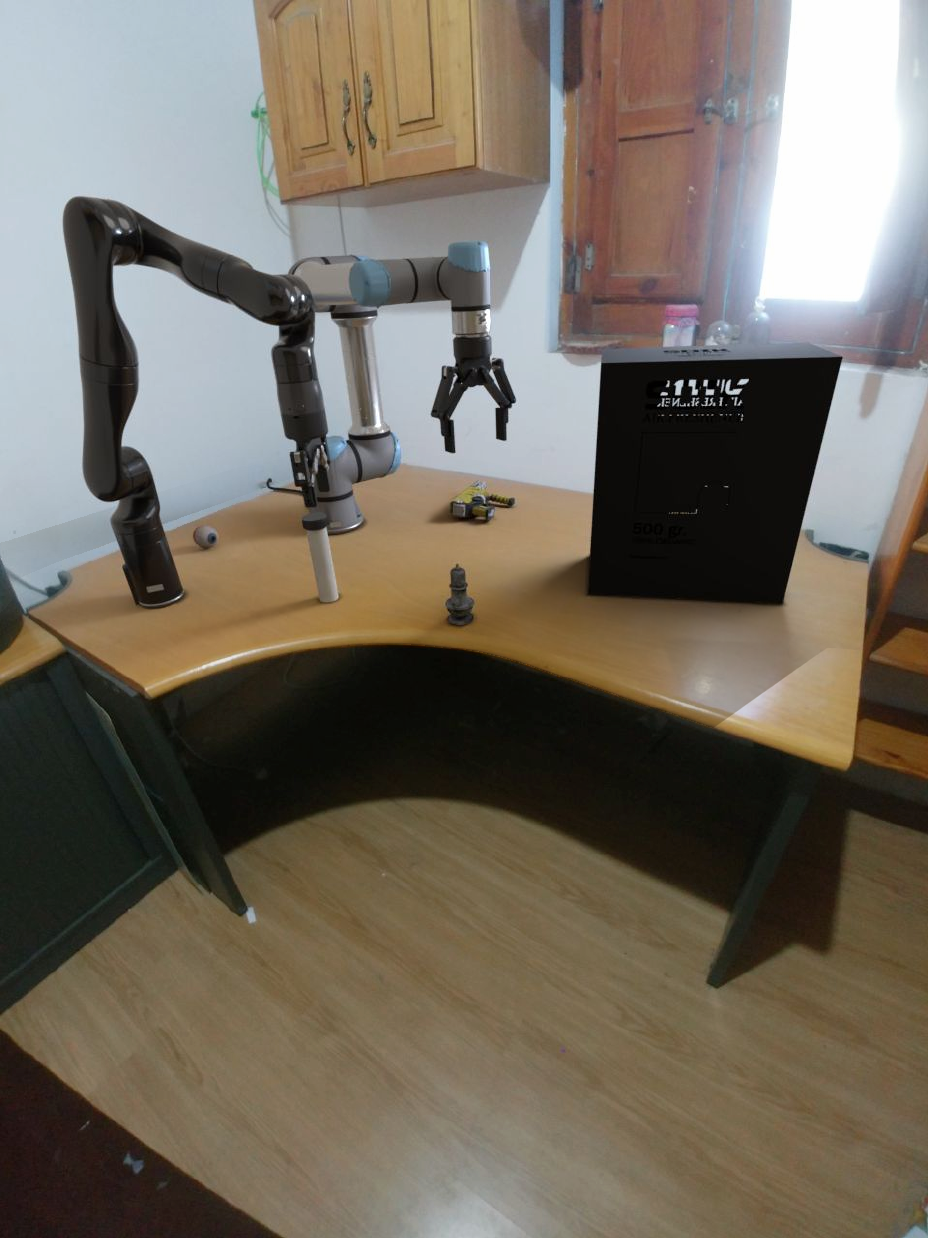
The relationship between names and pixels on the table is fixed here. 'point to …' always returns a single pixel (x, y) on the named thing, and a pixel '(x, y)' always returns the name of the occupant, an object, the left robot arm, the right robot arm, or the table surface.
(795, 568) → the table surface
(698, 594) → the cardboard box
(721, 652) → the table surface
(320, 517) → the lid
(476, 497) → the toy gun
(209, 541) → the eyeball
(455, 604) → the dark grey chess piece
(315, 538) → the white cylinder
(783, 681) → the table surface
